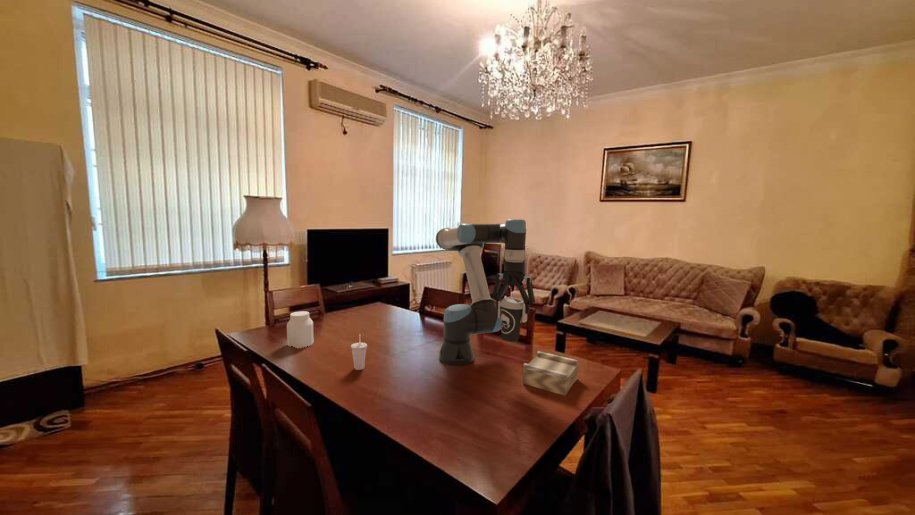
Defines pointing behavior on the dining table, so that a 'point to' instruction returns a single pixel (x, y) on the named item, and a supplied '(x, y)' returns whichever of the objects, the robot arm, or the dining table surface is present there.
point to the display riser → (551, 373)
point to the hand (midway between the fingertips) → (512, 319)
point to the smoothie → (359, 354)
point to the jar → (300, 330)
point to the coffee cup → (511, 318)
